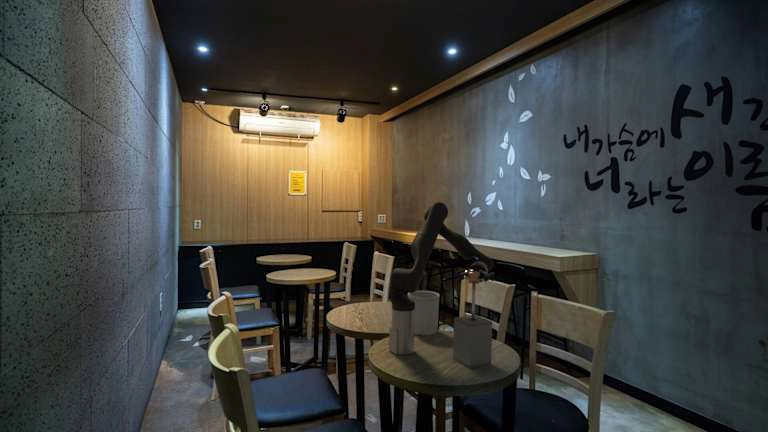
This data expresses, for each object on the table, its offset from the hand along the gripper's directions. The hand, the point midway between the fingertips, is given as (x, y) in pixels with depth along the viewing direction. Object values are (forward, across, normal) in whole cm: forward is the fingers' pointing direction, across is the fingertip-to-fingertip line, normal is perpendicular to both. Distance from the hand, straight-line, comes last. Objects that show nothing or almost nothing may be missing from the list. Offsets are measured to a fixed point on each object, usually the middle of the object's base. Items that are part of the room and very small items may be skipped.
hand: (473, 278), depth 154 cm
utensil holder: (-32, -26, +32) cm, 53 cm away
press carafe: (-2, 0, +32) cm, 32 cm away
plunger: (-2, 0, +21) cm, 21 cm away
